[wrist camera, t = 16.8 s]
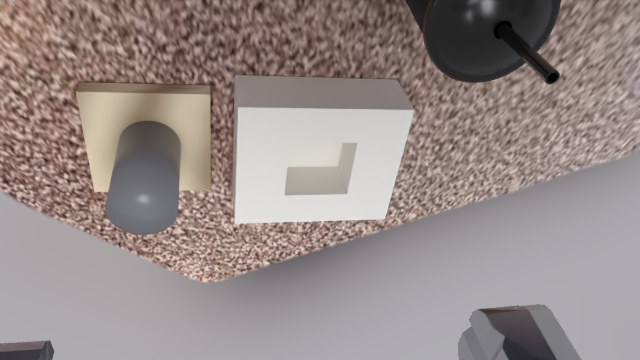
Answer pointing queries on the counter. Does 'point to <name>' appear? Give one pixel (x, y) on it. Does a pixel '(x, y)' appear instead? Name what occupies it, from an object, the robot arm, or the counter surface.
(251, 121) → the block
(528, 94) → the counter surface
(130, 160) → the grey cylinder
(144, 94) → the pad
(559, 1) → the drinking cup
